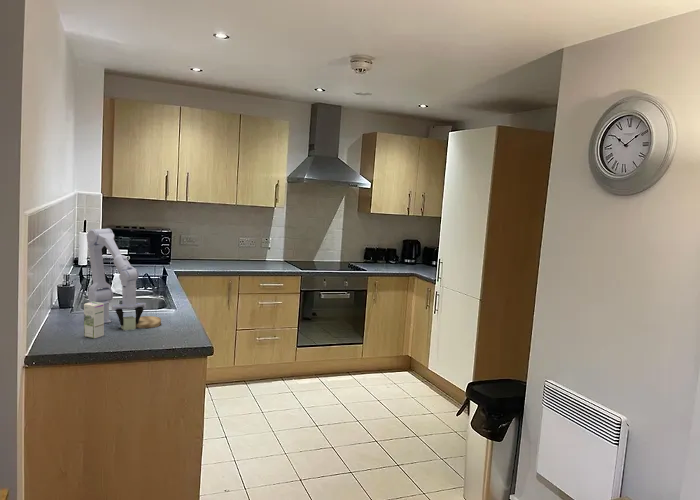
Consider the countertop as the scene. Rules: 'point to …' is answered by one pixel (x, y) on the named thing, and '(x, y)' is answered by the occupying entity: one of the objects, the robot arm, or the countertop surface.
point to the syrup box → (93, 319)
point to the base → (148, 322)
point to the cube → (129, 323)
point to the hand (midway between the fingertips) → (129, 324)
